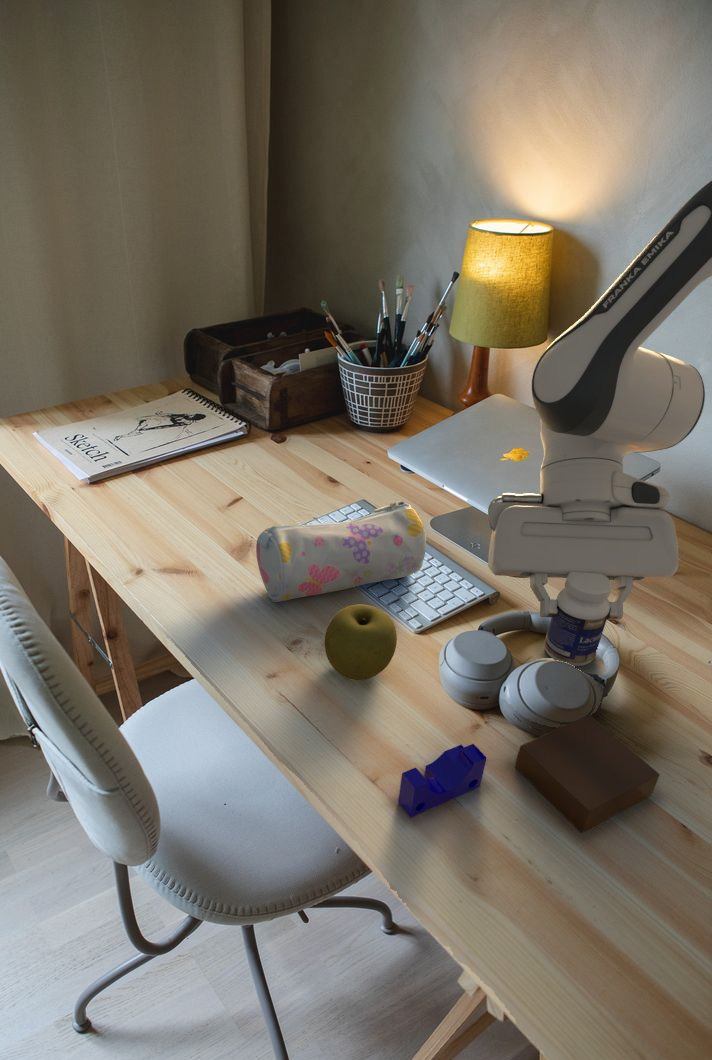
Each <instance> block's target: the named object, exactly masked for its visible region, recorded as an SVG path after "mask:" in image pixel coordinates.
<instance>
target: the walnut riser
mask: <svg viewBox="0 0 712 1060" xmlns="http://www.w3.org/2000/svg"><path fill="white" fill-rule="evenodd" d="M514 768H515V770H517V771H518V772H519V773H520V774H521V775H522V776H523V777H524V778H525V779H526V780H527V781H528V782H529V783H530V784H531V785H532V786H533V787H534V788H535V789H536V791H538V792H539V793H540V794H542V796H543V797H544V798H545V799H546V800H547V801H548V802H549V803H550V804H552V805H553V806H554V807H555V809H556V810H558V812H560V813H561V814H562V815H563V816H564V817H565V818H566V819H567V820H568V821H569V822H570V823H571V824H572V825H573V827H575V828H576V829H577V830H578V831H579V832H580V833H584V832H586V831H588V830H591V829H592V828H594V827H595V826H597V825H599V824H601V823H603V822H605V821H607V820H608V819H610V818H612V817H615V816H616V815H618V814H620V813H621V812H624V811H626V810H627V809H629V808H631V807H633V806H635V805H636V804H638V803H640V802H642V801H644V800H646V799H648V798H650V797H651V796H652V795H653V792H654V790H655V787H656V785H657V782H658V780H659V778H660V775H661V774H660V773H659V772H658V771H657V770H655V768H654V767H652V766H651V765H650V764H649V763H647V762H646V761H645V760H643V759H642V758H641V757H640V756H639V755H638V754H637V753H635V752H634V751H633V750H632V749H631V748H630V747H628V746H627V745H626V744H624V743H623V741H622V740H619V738H618V737H616V736H615V735H614V734H613V733H612V732H610V731H609V730H608V729H607V728H605V727H604V726H603V725H602V724H601V723H599V722H598V721H597V720H596V719H595V718H594V717H592V716H591V715H590V714H587V715H585V716H584V715H583V716H582V717H580V718H577V719H576V720H572V721H571V722H569V723H567V724H565V725H563V726H561V727H558V728H556V729H554V730H552V731H550V732H548V733H545V734H543V735H540V736H539V737H537V738H534V739H532V740H530V741H528V742H525V743H523V744H521V745H520V746H519V749H518V752H517V757H516V760H515V764H514Z"/></svg>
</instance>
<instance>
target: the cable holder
mask: <svg viewBox="0 0 712 1060" xmlns="http://www.w3.org/2000/svg"><path fill="white" fill-rule="evenodd" d="M487 759H488V757H487V756H486V755H485V754H484V753H483V752H482V751H481V750H480V749H479V747H478V746H477V745H475V743H471V744H468V745H466V746H464V745H463V744H459V745H456V746H453V747H451V748H449V749H446V750H444V751H443V752H442V753H441V754H440V756H438V757H437V758H436V759H435V760H433V761H432V762H431V763H428V764H427V765H425V769H424V775H423V774H422V772H420V770H419V769H418V768H417V767H413V768H410V769H409V770H406V771H403V772H402V773H401V779H400V786H399V792H398V798H397V799H398V800H397V803H398V805H399V806H400V807H401V808H402V810H403V811H404V812H405V813H406V815H407V816H408V817H409V818H413V817H415V816H417V815H420V814H422V813H424V812H427V811H429V810H431V809H433V808H436V807H438V806H440V805H443V804H445V803H447V802H449V801H451V800H453V799H456V798H458V797H460V796H462V795H463V796H464V795H465V794H467V793H470V792H471V791H474V790H476V789H478V788H481V784H482V780H483V776H484V771H485V767H486V764H487V763H486V762H487Z"/></svg>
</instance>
